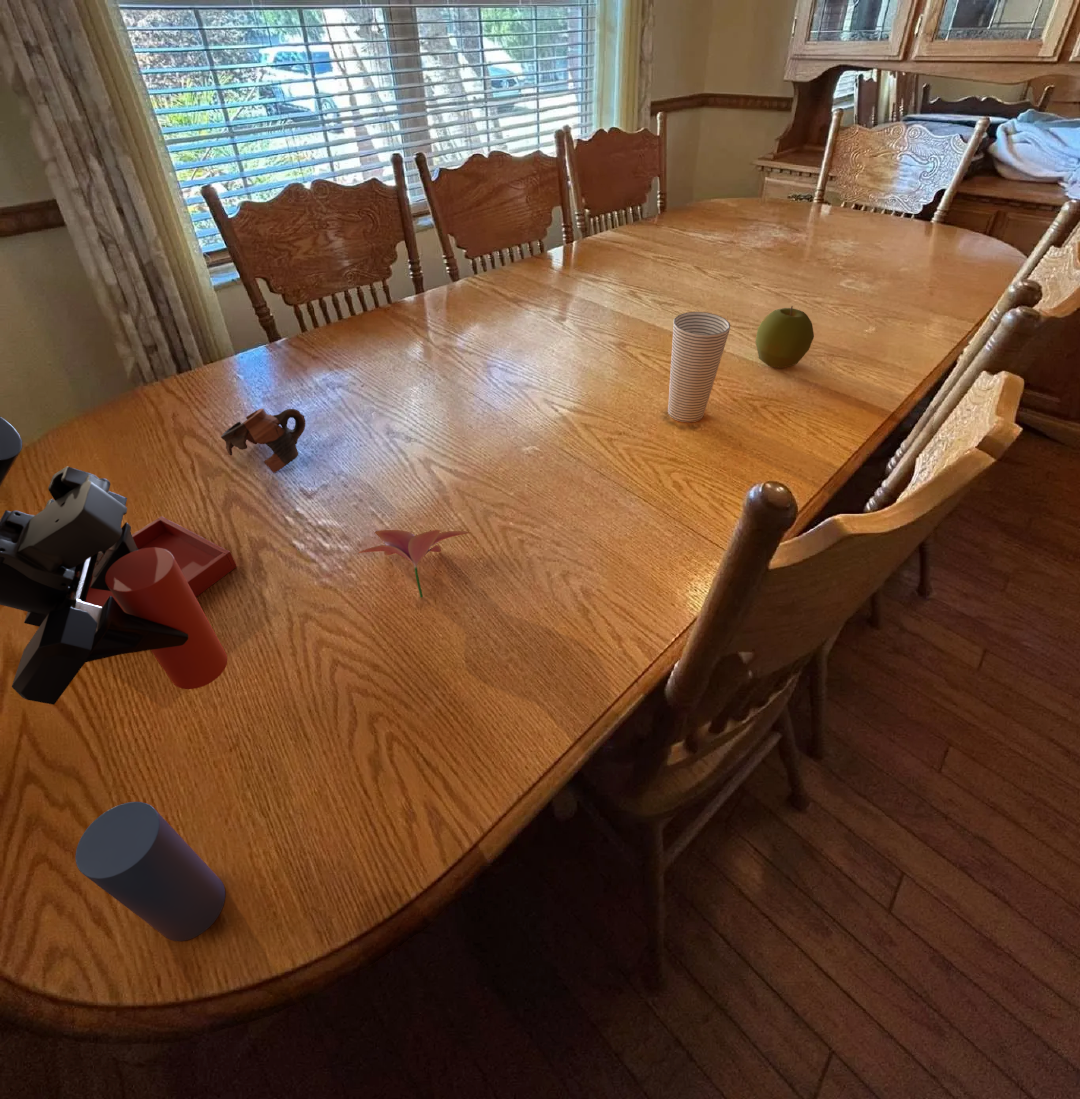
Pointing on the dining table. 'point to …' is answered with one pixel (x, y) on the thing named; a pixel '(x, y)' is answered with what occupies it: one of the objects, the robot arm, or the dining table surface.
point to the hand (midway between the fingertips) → (188, 617)
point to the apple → (784, 337)
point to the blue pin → (151, 871)
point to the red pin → (168, 614)
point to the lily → (411, 545)
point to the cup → (694, 362)
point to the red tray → (179, 557)
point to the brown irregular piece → (268, 435)
